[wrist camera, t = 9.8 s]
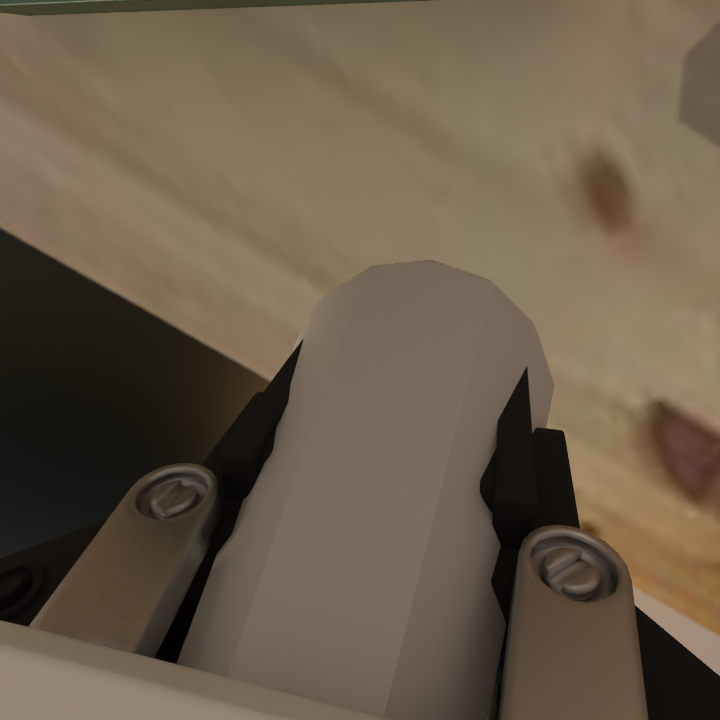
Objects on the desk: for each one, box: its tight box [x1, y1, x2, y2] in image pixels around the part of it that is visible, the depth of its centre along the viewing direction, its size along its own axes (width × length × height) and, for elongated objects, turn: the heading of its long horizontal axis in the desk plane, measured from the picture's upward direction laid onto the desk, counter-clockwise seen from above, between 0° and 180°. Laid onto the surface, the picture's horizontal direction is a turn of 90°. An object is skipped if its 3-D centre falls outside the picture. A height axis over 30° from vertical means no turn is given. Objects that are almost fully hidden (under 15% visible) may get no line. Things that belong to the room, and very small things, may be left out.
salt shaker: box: [176, 260, 554, 720], centre depth 8 cm, size 6×6×13 cm
